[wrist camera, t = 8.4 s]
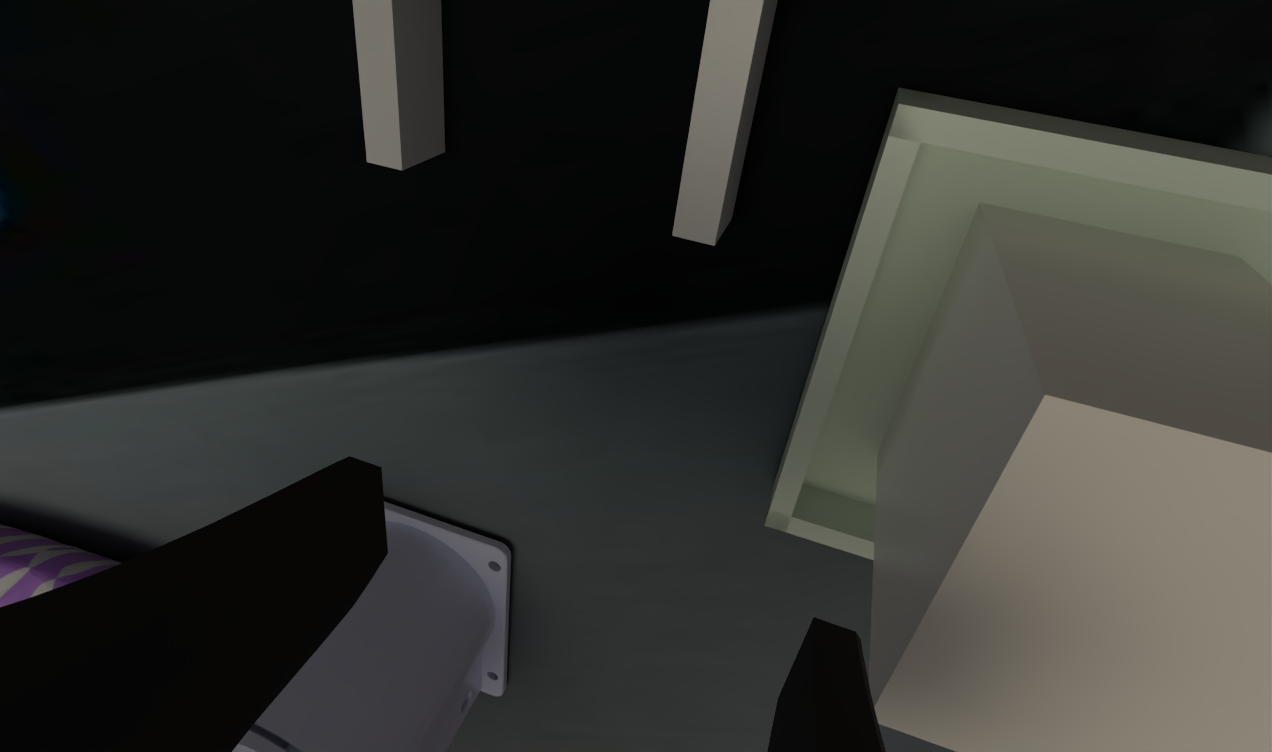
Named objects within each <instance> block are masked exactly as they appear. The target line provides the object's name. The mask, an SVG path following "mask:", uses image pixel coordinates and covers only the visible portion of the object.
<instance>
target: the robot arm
mask: <svg viewBox="0 0 1272 752" xmlns="http://www.w3.org/2000/svg"><path fill="white" fill-rule="evenodd" d="M510 574H511V552H510V550H509V548H508V547H507V546H506V545H505V544H504V543H502V542H499V541H497V540H494V539H491V538H488V537H485V536H482V535H479V534H476V533H474V532H471V531H468V530H465V529H462V528H459V527H456V526H453V525H451V524H448V523H445V522H442V521H439V520H436V519H433V518H430V517H428V516H425V515H422V514H419V513H416V512H413V511H410V510H408V509H405V508H402V507H399V506H396V505H393V504H390V503H387V502H385V501H384V496H383V484H382V471H381V467H379V466H376V465H373V464H370V463H367V462H364V461H361V460H358V459H356V458H353V457H350V456H349V457H347V458H345V459H343V460H340V461H338V462H336V463H334V464H332V465H330V466H328V467H326V468H324V469H322V470H320V471H318V472H316V473H314V474H312V475H310V476H308V477H306V478H304V479H302V480H300V481H298V482H296V483H294V484H292V485H290V486H288V487H286V488H284V489H282V490H280V491H278V492H276V493H274V494H272V495H270V496H268V497H266V498H263V499H261V500H259V501H257V502H255V503H253V504H251V505H249V506H247V507H245V508H243V509H241V510H239V511H237V512H235V513H232V514H230V515H228V516H226V517H224V518H222V519H220V520H218V521H216V522H214V523H212V524H210V525H208V526H205V527H203V528H201V529H199V530H196V531H194V532H192V533H190V534H187V535H185V536H183V537H181V538H178V539H176V540H174V541H171V542H169V543H167V544H165V545H162V546H160V547H158V548H156V549H153V550H151V551H149V552H147V553H144V554H142V555H140V556H138V557H135V558H133V559H131V560H128V561H126V562H123V563H121V564H118V565H116V566H114V567H111V568H108V569H106V570H103V571H101V572H98V573H96V574H93V575H91V576H88V577H85V578H83V579H80V580H77V581H74V582H72V583H69V584H66V585H64V586H61V587H58V588H55V589H53V590H50V591H47V592H45V593H42V594H39V595H36V596H33V597H30V598H27V599H25V600H21V601H18V602H15V603H12V604H9V605H6V606H3V607H0V752H446V750H447V749H448V747H449V745H450V743H451V742H452V740H453V738H454V736H455V735H456V733H457V731H458V729H459V728H460V726H461V724H462V722H463V720H464V719H465V717H466V715H467V713H468V712H469V710H470V708H471V706H472V705H473V703H474V701H475V699H476V698H477V696H478V694H479V692H480V691H482V692H485V693H487V694H490V695H493V696H501V695H502V694H503V693H504V691H505V689H506V681H507V654H508V627H509V601H510ZM768 752H886V751H885V748H884V744H883V740H882V736H881V733H880V729H879V725H878V721H877V716H876V712H875V708H874V704H873V700H872V696H871V691H870V687H869V682H868V677H867V673H866V667H865V662H864V657H863V651H862V645H861V640H860V638H859V636H858V635H857V633H856V632H855V631H852V630H849V629H846V628H843V627H840V626H837V625H835V624H832V623H829V622H826V621H823V620H820V619H817V618H813V620H812V623H811V625H810V627H809V629H808V632H807V634H806V636H805V638H804V641H803V643H802V645H801V648H800V650H799V652H798V654H797V657H796V659H795V661H794V663H793V666H792V668H791V670H790V672H789V675H788V677H787V679H786V682H785V684H784V686H783V688H782V691H781V693H780V695H779V697H778V702H777V707H776V712H775V717H774V721H773V726H772V731H771V736H770V742H769V747H768Z"/></svg>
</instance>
